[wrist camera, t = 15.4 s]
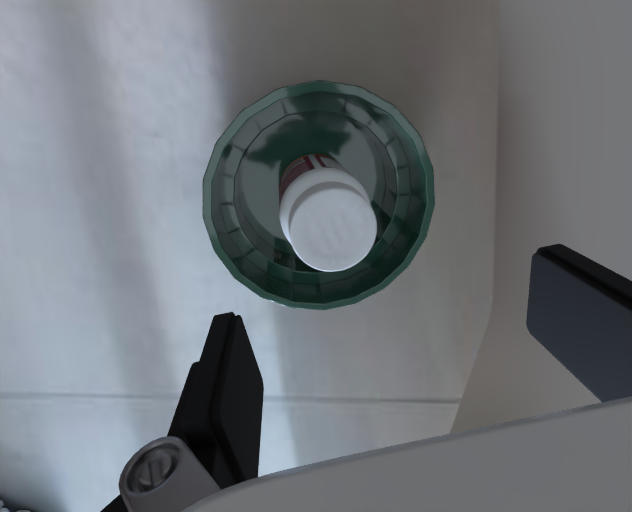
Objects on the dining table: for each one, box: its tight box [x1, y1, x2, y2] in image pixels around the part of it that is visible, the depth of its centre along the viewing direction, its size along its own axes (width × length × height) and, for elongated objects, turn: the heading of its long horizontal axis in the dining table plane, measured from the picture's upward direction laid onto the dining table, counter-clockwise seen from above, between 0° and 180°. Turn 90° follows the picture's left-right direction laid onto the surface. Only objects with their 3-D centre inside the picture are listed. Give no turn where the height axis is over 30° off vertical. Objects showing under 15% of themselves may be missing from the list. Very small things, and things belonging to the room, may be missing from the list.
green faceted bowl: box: [203, 80, 435, 310], centre depth 28 cm, size 16×16×7 cm
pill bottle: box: [279, 154, 377, 272], centre depth 25 cm, size 6×6×11 cm
